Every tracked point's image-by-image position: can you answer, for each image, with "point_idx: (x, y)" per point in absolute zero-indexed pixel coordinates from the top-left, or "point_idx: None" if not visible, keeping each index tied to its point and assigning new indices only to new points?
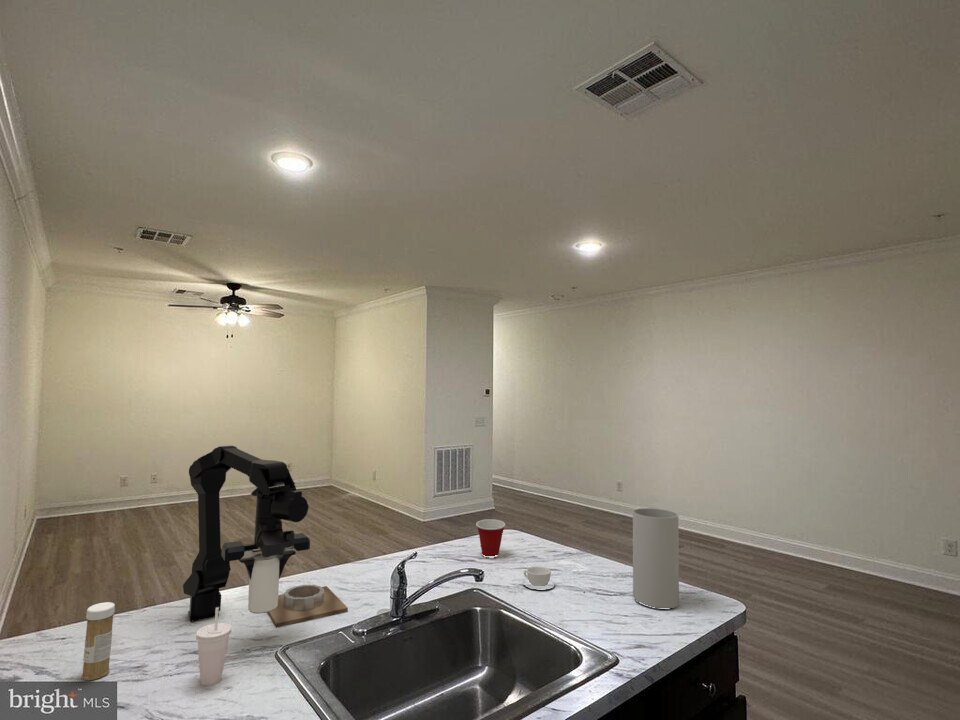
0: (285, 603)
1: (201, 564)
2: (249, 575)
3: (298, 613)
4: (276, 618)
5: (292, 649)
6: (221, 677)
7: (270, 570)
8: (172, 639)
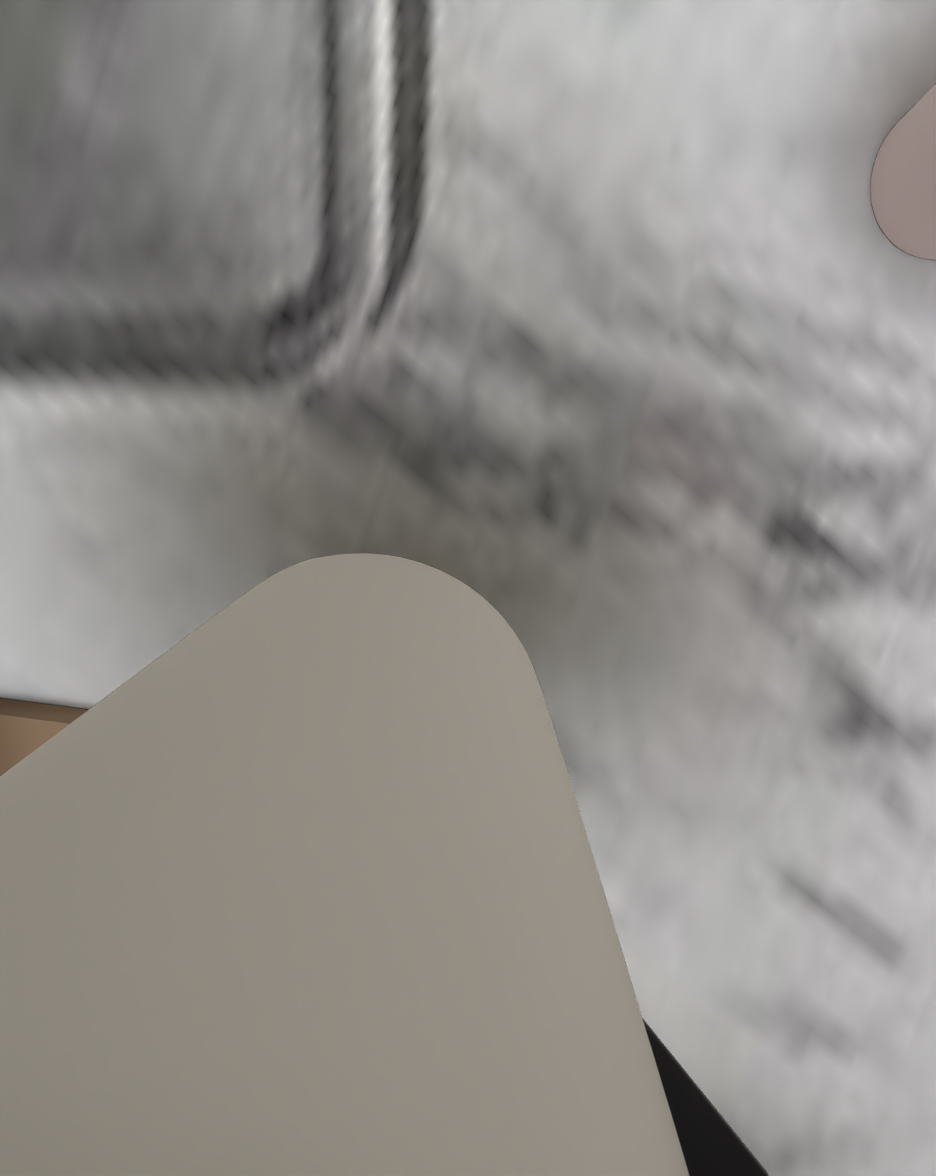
0: None
1: None
2: (719, 1134)
3: None
4: None
5: (258, 260)
6: (896, 125)
7: (56, 874)
8: (900, 998)
